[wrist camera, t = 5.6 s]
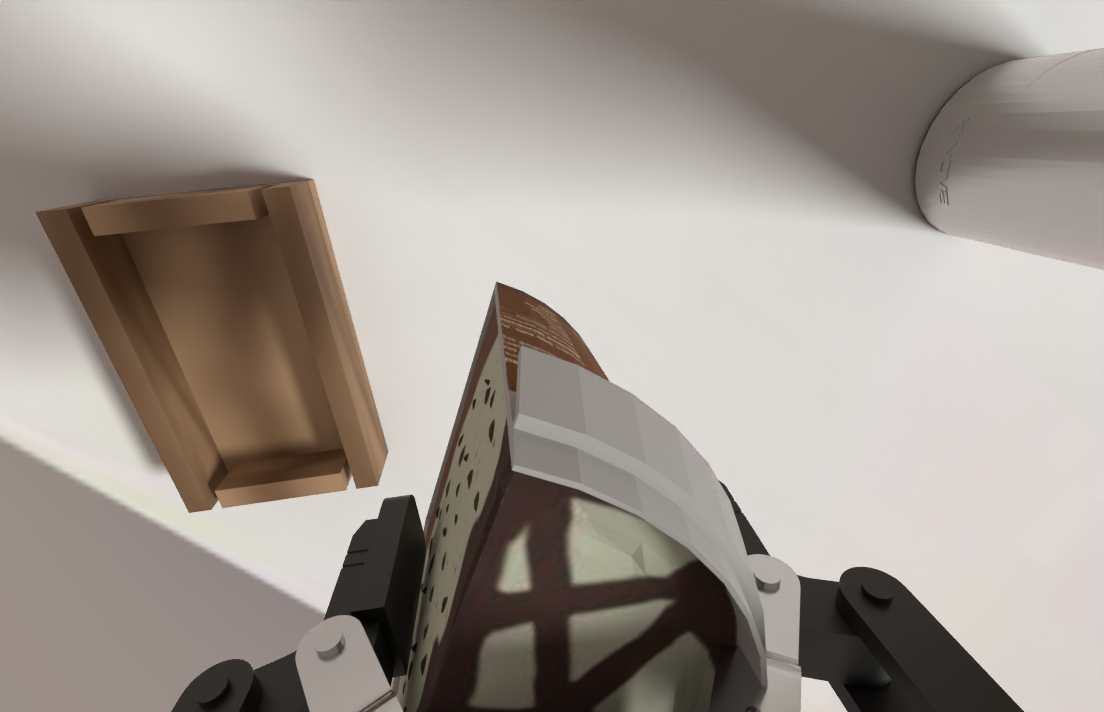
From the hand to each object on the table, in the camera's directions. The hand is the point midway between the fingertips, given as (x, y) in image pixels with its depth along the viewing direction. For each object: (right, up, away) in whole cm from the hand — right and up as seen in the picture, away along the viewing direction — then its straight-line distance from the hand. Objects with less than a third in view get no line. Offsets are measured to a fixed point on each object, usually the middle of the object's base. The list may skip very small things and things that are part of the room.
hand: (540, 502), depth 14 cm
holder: (-16, +5, +14) cm, 22 cm away
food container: (0, +2, +3) cm, 4 cm away
